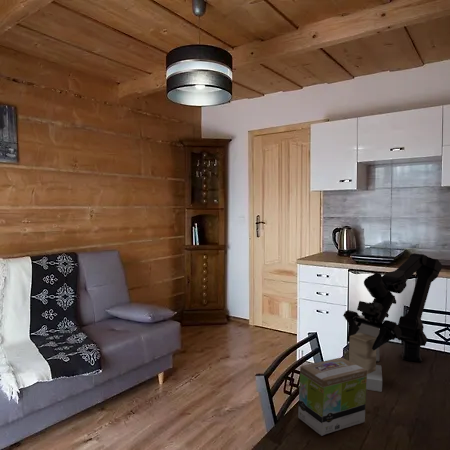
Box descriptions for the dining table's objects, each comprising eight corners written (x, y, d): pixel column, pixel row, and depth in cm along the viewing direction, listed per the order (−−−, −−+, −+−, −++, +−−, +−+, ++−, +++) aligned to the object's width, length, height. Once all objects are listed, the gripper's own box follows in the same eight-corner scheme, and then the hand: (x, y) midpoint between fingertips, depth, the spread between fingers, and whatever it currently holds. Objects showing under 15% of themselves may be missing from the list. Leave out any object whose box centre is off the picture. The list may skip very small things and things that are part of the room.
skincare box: (375, 355, 152) (376, 315, 151) (380, 362, 146) (381, 320, 145) (352, 354, 153) (353, 314, 152) (356, 361, 147) (357, 319, 146)
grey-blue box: (343, 371, 139) (344, 360, 138) (380, 377, 135) (381, 365, 134) (341, 386, 127) (341, 374, 127) (381, 393, 123) (382, 380, 123)
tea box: (322, 438, 99) (323, 380, 98) (297, 418, 108) (298, 365, 107) (366, 422, 106) (367, 368, 105) (339, 405, 115) (340, 355, 114)
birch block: (359, 364, 135) (360, 332, 134) (375, 370, 130) (376, 337, 130) (348, 368, 132) (349, 336, 131) (364, 375, 127) (365, 341, 126)
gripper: (347, 287, 139) (325, 324, 133) (397, 297, 124) (376, 339, 118) (360, 305, 144) (340, 342, 138) (410, 318, 129) (390, 359, 123)
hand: (360, 345), depth 129 cm, fingers open, 9 cm apart
